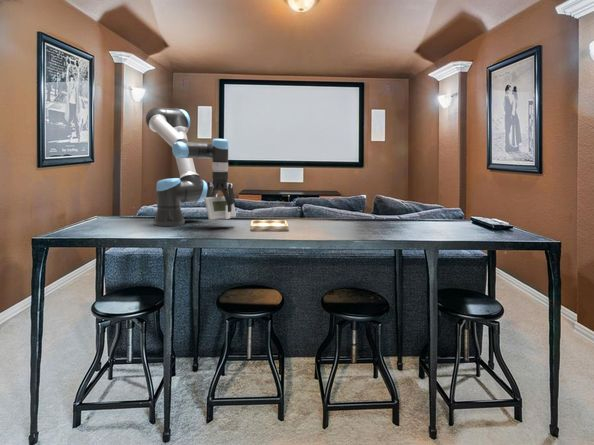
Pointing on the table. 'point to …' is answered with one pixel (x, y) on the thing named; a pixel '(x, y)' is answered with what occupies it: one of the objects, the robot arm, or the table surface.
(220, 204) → the digital clock
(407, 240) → the table surface
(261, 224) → the birch tray
